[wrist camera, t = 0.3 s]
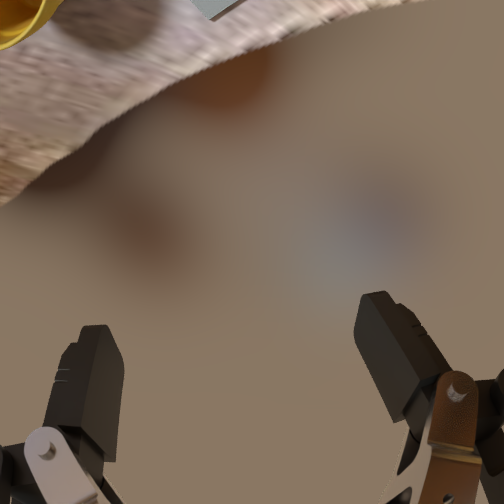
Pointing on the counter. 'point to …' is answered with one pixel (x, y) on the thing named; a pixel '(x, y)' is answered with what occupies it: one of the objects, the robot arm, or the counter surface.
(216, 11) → the pad
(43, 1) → the plant pot
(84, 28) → the counter surface
